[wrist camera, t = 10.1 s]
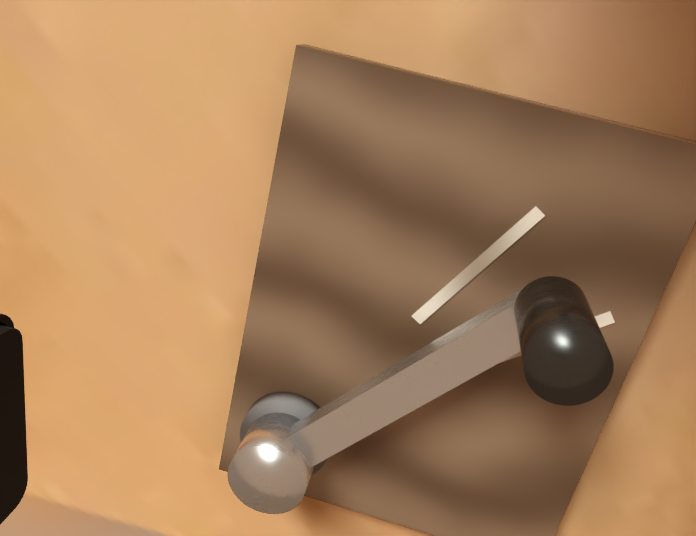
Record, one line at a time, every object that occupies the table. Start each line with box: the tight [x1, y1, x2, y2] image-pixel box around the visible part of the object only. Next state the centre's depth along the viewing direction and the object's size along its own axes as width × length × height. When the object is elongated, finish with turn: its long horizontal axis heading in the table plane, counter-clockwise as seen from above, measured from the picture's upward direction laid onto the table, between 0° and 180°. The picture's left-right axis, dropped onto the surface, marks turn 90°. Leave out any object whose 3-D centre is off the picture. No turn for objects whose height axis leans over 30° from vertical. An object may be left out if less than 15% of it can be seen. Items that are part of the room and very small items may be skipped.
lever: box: [228, 276, 614, 514], centre depth 29 cm, size 20×4×7 cm, turn 128°
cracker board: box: [219, 45, 696, 536], centre depth 33 cm, size 24×19×2 cm
